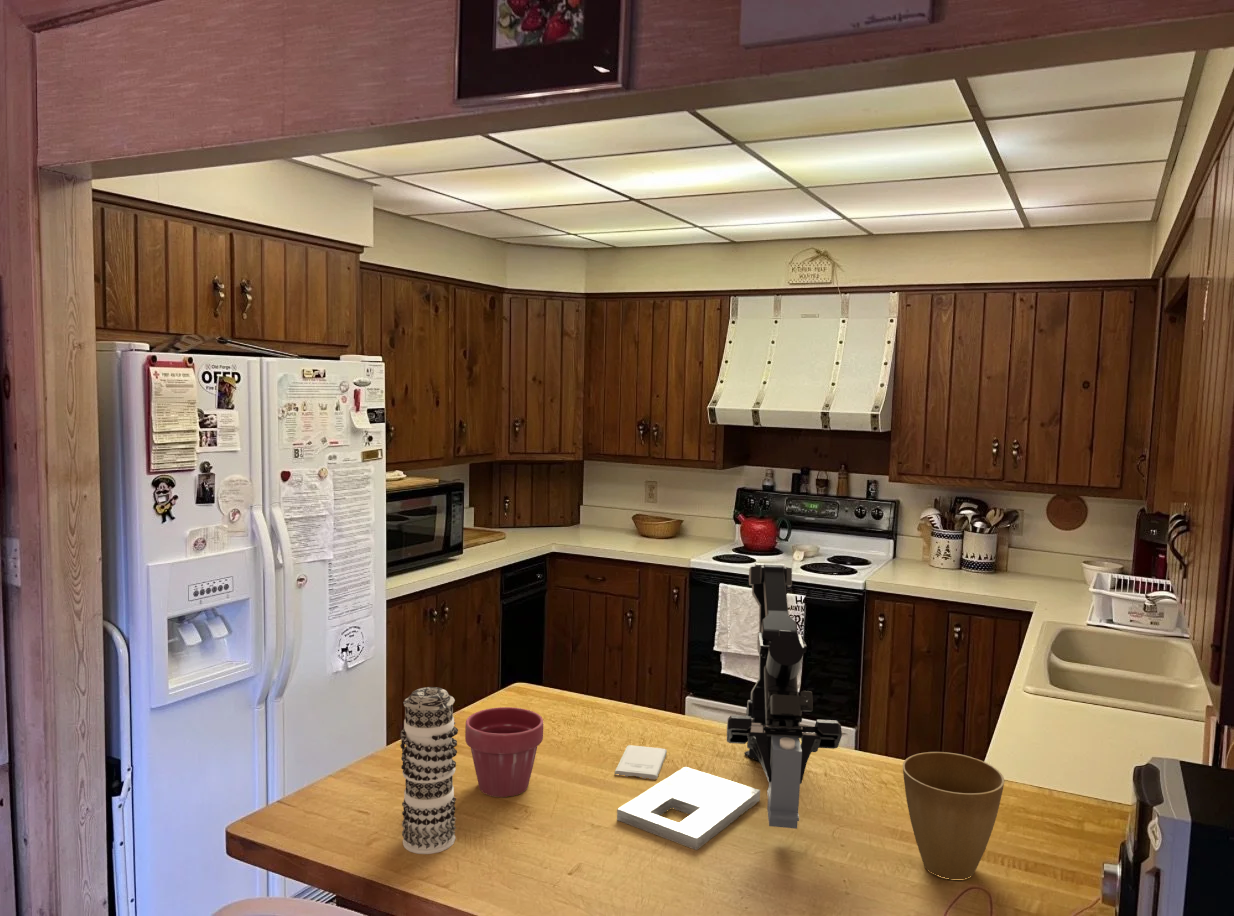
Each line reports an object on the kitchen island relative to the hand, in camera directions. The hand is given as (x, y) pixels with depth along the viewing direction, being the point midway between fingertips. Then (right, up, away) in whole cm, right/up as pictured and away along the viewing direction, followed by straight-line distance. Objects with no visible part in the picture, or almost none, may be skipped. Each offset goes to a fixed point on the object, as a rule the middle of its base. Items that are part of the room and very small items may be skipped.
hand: (785, 782), depth 148 cm
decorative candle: (-58, -10, +1) cm, 59 cm away
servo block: (0, -7, +2) cm, 7 cm away
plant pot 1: (-48, -8, +21) cm, 53 cm away
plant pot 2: (+25, -12, -5) cm, 28 cm away
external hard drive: (-23, -8, +32) cm, 40 cm away
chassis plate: (-14, -9, +13) cm, 21 cm away
